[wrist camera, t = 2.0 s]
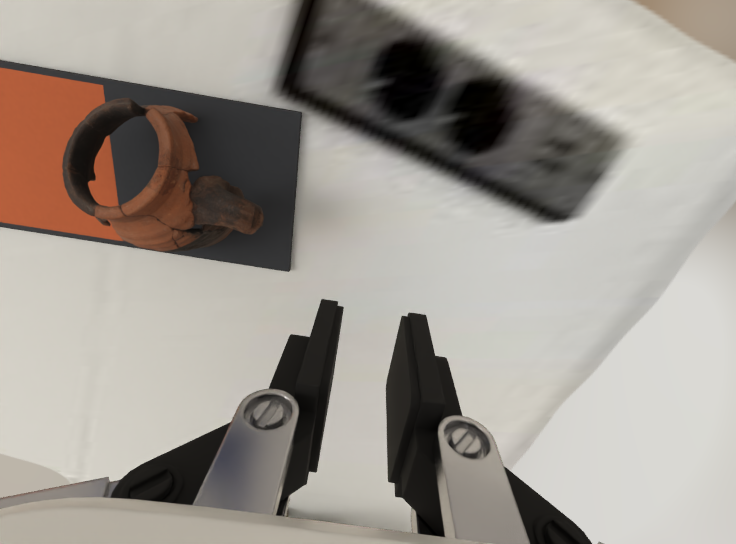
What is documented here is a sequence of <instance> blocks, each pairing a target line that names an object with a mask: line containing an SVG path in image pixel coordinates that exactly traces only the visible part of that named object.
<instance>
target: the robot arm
mask: <svg viewBox="0 0 736 544" xmlns="http://www.w3.org/2000/svg"><path fill="white" fill-rule="evenodd" d="M343 308H344V307H342V306H338V301H331V300H325V299H322V300H321V303H320V306H319V309H318V312H317V316H316V319H315V322H314V326H313V329H312V332H311V335H310V337H306V336H299V335H292V334H291V335H290V337H289V339H288V341H287V344H286V346H285V349H284V351H283V354H282V356H281V359H280V361H279V364H278V366H277V369H276V371H275V374H274V377H273V379H272V382H271V384H270V387H269V389H264V390H259V391H256V392H254V393H252V394H250V395H248V396H247V397H246V398H245V399H243V401H242V402H241V404H240V405H239V406H238V409H237V411H236V413H235V415H234V417H233V419H232V421H231V422H230V423H228V424H226V425H224V426H222V427H220V428H218V429H215V430H213V431H211V432H209V433H207V434H205V435H203V436H201V437H199V438H196V439H194V440H192V441H190V442H188V443H186V444H184V445H182V446H179V447H177V448H175V449H173V450H171V451H169V452H167V453H165V454H163V455H160V456H158V457H156V458H154V459H152V460H150V461H148V462H146V463H144V464H141V465H140V466H138V467H136V468H135V469H133V470H131V471H130V472H129V473H128V474H127V475H126V476H124V477H123V478H122V479H121V480H118V481H113V482H110V481H109V477H105V478H100V479H95V480H90V481H85V482H80V483H75V484H70V485H64V486H59V487H55V488H49V489H44V490H39V491H34V492H29V493H24V494H19V495H14V496H8V497H3V498H0V544H592V543H591V541H590V540H589V539H588V537H587V536H586V535H585V533H584V532H583V531H582V530H581V529H580V528H579V527H578V526H577V525H576V524H575V523H574V522H573V521H571V520H570V519H569V518H567V517H566V516H565V515H564V514H563V513H561V512H560V511H559V510H558V509H556V508H555V507H554V506H553V505H551V504H550V503H549V502H548V501H547V500H545V499H544V498H543V497H542V496H540V495H539V494H538V493H537V492H535V491H534V490H533V489H532V488H530V487H529V486H528V485H527V484H525V483H524V482H523V481H522V480H520V479H519V478H518V477H517V476H515V475H514V474H513V473H512V472H511V471H509V470H508V469H507V468H506V467H504V466H503V463H502V460H501V457H500V454H499V451H498V448H497V445H496V442H495V440H494V438H493V436H492V435H491V433H490V432H489V431H488V430H487V429H486V428H485V427H484V426H483V425H481V424H480V423H479V422H477V421H475V420H473V419H471V418H468V417H465V416H462V413H461V409H460V405H459V401H458V398H457V394H456V390H455V387H454V383H453V379H452V375H451V372H450V368H449V364H448V361H447V359H446V358H445V357H439V356H435V353H434V349H433V344H432V340H431V335H430V331H429V326H428V322H427V317H426V315H422V314H416V313H408V316H402V318H401V321H400V326H399V330H398V334H397V339H396V343H395V347H394V352H393V356H392V360H391V365H390V369H389V373H388V378H387V384H386V411H387V458H388V482H390V483H395V497H401V498H403V499H404V500H405V501H406V502H407V503H408V504H409V505H410V506H411V507H412V508H411V527H412V533H408V532H401V531H393V530H386V529H378V528H370V527H363V526H355V525H347V524H339V523H332V522H324V521H316V520H308V519H300V518H292V517H286V514H287V510H288V505H289V501H290V494H292V493H293V492H295V491H296V490H298V489H299V488H301V487H302V486H304V485H306V484H307V479H308V474H309V472H317V467H318V461H319V455H320V450H321V444H322V438H323V432H324V427H325V421H326V415H327V409H328V404H329V398H330V392H331V387H332V381H333V375H334V368H335V361H336V355H337V348H338V342H339V335H340V328H341V322H342V315H343ZM598 544H603V543H601V542H599V543H598Z"/></svg>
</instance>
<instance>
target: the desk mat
mask: <svg viewBox="0 0 736 544" xmlns="http://www.w3.org/2000/svg"><path fill="white" fill-rule="evenodd" d="M121 98H130V99H132V100H133V101H134V102H136V103H137V104H138V105H139V106H143V105H159V106H162V105H164V106H171V107H175V108H178V109H181V110H183V111H185V112H188V113H190V114H192V115H193V116H195V117H197V118H198V121H197V122H196V123H191V122H184V121H183V123H184V124H185V126H186V128H187V131H188V133H189V136H190V138H191V140H192V142H193V144H194V149H195V153H196V156H197V161H198V164H199V170H197V171H192V172H188V176H189V181H190V183H191V185H193V184H194V182H195V181H196V180H197V179H198V178H199V177H202V176H219V177H221V178H222V179H223V180H225V181H227V182H229V183H230V185H231V186H234V187H238V188H239V189H241V190H242V193H243V195H244V198H245V199H247V200H249V201H251V202H253V203H255V204H257V205H259V206H260V207H261V208H262V211H263V215H264V220H263V225H262V226H261V227H260V228H259V229H258V230H257V231H256V232H255V233H254V234H244V233H242V232H240V231H237V230H235V229H233V230H232V232H231V233H230V234H229V235H228V236H227V237H226V238H225V239H223V240H222V241H220V242H218V243H216V244H214V245H212V246H209V247H204V248H197V249H193V250H189V251H179V252H165V253H172V254H178V255H185V256H191V257H197V258H204V259H210V260H217V261H223V262H229V263H236V264H242V265H249V266H255V267H262V268H268V269H274V270H281V271H287V272H289V271H290V263H291V250H292V237H293V223H294V210H295V197H296V184H297V171H298V157H299V144H300V131H301V118H302V112H297V111H291V110H285V109H280V108H274V107H268V106H262V105H256V104H251V103H245V102H239V101H233V100H228V99H222V98H216V97H210V96H204V95H199V94H193V93H187V92H181V91H175V90H170V89H164V88H158V87H152V86H146V85H141V84H135V83H129V82H123V81H118V80H112V79H106V78H100V77H94V76H89V75H83V74H77V73H71V72H65V71H60V70H54V69H48V68H42V67H37V66H31V65H25V64H19V63H13V62H8V61H2V60H0V227H5V228H11V229H18V230H24V231H31V232H37V233H44V234H50V235H56V236H63V237H69V238H76V239H82V240H88V241H95V242H101V243H108V244H114V245H120V246H127V247H133V248H140V249H146V248H141V247H138V246H135V245H133V244H131V243H129V242H126V241H124V240H122V239H121V237H120V236H119V235H118V234H117V233H116V231H115V229H114V228H113V227H112V224H111V222H110V221H109V220H108V221H109V222H110V224H111V225H110V226H105V225H103V224H101V223H100V222H99V221H98V220H97V219H96V218H95V217H94V216H90V215H88V214H87V213H85V212H83V211H82V210H80V209H79V208H78V207H77V206H76V205H75V204H74V203H73V202H72V200H71V199H70V198H69V196H68V193H67V191H66V188H65V186H64V181H63V174H62V172H63V169H62V162H63V155H64V152H65V149H66V146H67V143H68V140H69V139H70V137H71V136H72V134H73V131H74V129H75V128H76V127H77V126H78V124H79V123H80V122H81V121H83V120H84V119H85V117H86V116H87V115H88V114H89V113H90V112H91V111H92V110H93V109H95V108H97V107H98V106H100V105H102V104H104V103H106V102H110V101H112V100H115V99H121ZM158 159H159V141H158V136H157V133H156V131H155V129H154V127H153V126H152V124H151V123H150V122H149V120H148V119H147V118H146V116H137V117H133V118H131V119H129V120H128V121H126V122H124V123H123V124H122V125H121V126H120V127H118V128H117V129H116V130H115V131H114V132H113V133H112V134H111V135H108V136H106V138H105V139H104V143H103V145H102V147H101V149H100V150H99V152H98V154H97V156H96V158H95V163H94V172H95V175H96V180H95V181H89V182H88V186H89V189H90V192H91V194H92V196H93V198H94V199H95V201H96V202H97V203H99V204H100V205H103V206H108V207H112V206H118V205H122V204H124V203H126V202H128V201H130V200H132V199H133V198H134V197H136V196H137V195H138V194H139V193H141V192H142V190H143V189H144V188H145V187H146V186H147V184H148V183H149V181H150V180H151V179H152V177H153V175H154V173H155V171H156V169H157V168H158ZM192 228H193V229H196V228H198V229H201V228H202V225H197V224H195V225H194V226H193V227H192ZM190 229H191V228H190ZM146 250H151V249H146ZM153 251H155V250H153ZM159 252H160V251H159Z"/></svg>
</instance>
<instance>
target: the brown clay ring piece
mask: <svg viewBox="0 0 736 544" xmlns="http://www.w3.org/2000/svg"><path fill="white" fill-rule="evenodd" d="M137 116H146V118H147V119H148V120H149V122H150V123H151V124H152V126H153V127H154V129H155V131H156V133H157V136H158V141H159V159H158V168H157V169H156V171H155V173H154V175H153V177H152V179H151V180H150V181H149V183H148V184H147V186H146V187H145V188H144V189H143V190H142V192H141V193H139V194H138V195H137V196H136V197H134V198H133V199H132V200H130V201H128V202H126V203H124V204H122V205H118V206H112V207H108V206H103V205H100V204H99V203H97V202H96V201H95V199H94V198H93V196H92V194H91V192H90V189H89V186H88V182H89V181H95V180H96V175H95V172H94V163H95V158H96V156H97V154H98V152H99V150H100V149H101V147H102V145H103V143H104V139H105V138H106V136H108V135H111V134H112V133H113V132H114V131H115V130H116V129H117V128H118V127H120V126H121V125H122V124H123V123H124V122H126V121H128V120H129V119H131V118H133V117H137ZM183 121H184V122H191V123H196V122H197V121H198V118H197V117H195V116H193V115H192V114H190V113H188V112H185V111H183V110H181V109H178V108H175V107H171V106H164V105H162V106H159V105H143V106H139V105H138V104H137V103H136V102H134V101H133V100H132V99H130V98H121V99H115V100H112V101H110V102H106V103H104V104H102V105H100V106H98V107H97V108H95V109H93V110H92V111H91V112H90V113H89V114H88V115H87V116H86V117H85V119H84V120H83V121H81V122H80V123H79V124H78V126H77V127H76V128H75V129H74V131H73V134H72V136H71V137H70V139H69V140H68V143H67V146H66V149H65V152H64V155H63V162H62V169H63V172H62V174H63V181H64V186H65V188H66V191H67V193H68V196H69V198H70V199H71V200H72V202H73V203H74V204H75V205H76V206H77V207H78V208H79V209H80V210H82V211H83V212H85V213H87V214H88V215H90V216H94V217H95V218H96V219H97V220H98V221H99V222H100V223H101V224H103V225H105V226H110V225H111V224H112V227H113V228H114V229H115V231H116V233H117V234H118V235H119V236H120V237H121V239H122V240H124V241H126V242H129V243H131V244H133V245H135V246H138V247H141V248H146V249H151V250H155V251H160V252H179V251H189V250H193V249H197V248H204V247H209V246H212V245H214V244H216V243H218V242H220V241H222V240H223V239H225V238H226V237H227V236H228V235H229V234H230V233H231V232H232V230H233V229H235V230H237V231H240V232H242V233H244V234H254V233H255V232H256V231H257V230H258V229H259V228H260V227H261V226H262V225H263V220H264V215H263V211H262V208H261V207H260V206H259V205H257V204H255V203H253V202H251V201H249V200H247V199H245V198H244V195H243V193H242V190H241V189H239V188H238V187H234V186H231V185H230V183H229V182H227V181H225V180H223V179H222V178H221V177H219V176H202V177H199V178H198V179H197V180H196V181H195V182H194V184H193V185H191V183H190V181H189V176H188V172H192V171H197V170H199V164H198V161H197V156H196V153H195V149H194V144H193V142H192V140H191V138H190V136H189V133H188V131H187V128H186V126H185V124H184V123H183ZM108 220H109V221H110V222H111V224H110V222H109V221H108ZM195 224H197V225H202V228H201V229H198V228H196V229H193V228H192V227H193V226H194V225H195ZM190 228H191V229H190Z"/></svg>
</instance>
